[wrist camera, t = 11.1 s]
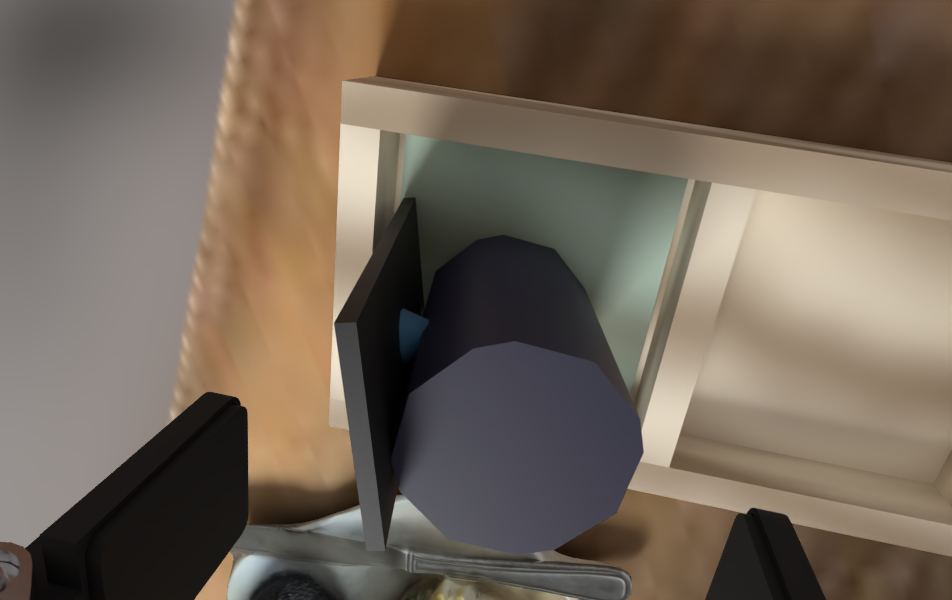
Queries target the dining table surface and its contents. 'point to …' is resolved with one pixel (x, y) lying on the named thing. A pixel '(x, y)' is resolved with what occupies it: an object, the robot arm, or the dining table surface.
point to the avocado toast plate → (404, 565)
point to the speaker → (483, 395)
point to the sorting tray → (702, 288)
